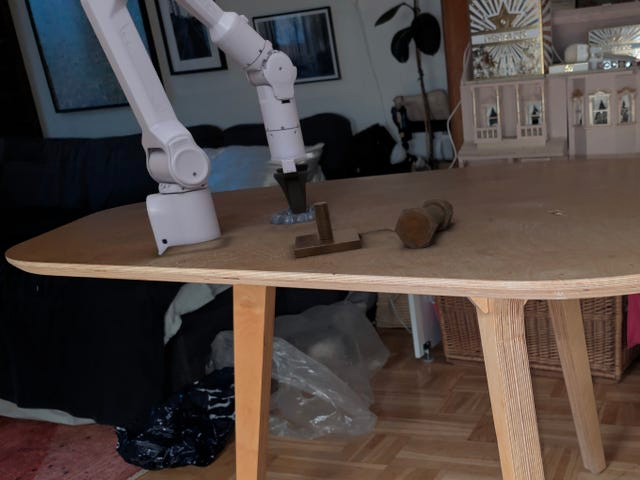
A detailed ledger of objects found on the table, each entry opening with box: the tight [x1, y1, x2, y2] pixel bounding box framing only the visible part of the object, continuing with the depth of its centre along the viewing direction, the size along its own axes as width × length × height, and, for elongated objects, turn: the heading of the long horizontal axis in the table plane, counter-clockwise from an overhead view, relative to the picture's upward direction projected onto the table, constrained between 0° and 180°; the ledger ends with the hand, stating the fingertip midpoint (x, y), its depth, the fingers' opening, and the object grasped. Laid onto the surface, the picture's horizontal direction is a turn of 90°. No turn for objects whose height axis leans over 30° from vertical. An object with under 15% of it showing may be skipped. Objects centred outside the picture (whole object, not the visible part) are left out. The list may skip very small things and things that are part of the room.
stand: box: [293, 201, 362, 259], centre depth 100 cm, size 9×9×6 cm
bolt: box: [394, 198, 454, 249], centre depth 100 cm, size 6×5×15 cm
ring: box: [269, 204, 331, 225], centre depth 119 cm, size 10×10×2 cm
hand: (299, 210), depth 122 cm, fingers open, 7 cm apart
